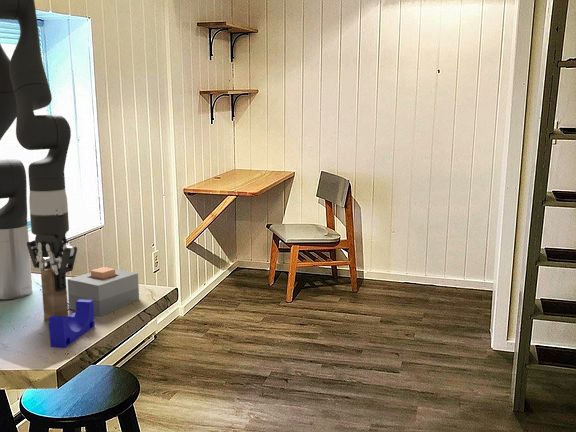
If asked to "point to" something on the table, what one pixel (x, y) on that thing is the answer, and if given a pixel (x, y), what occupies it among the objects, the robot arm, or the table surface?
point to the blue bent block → (71, 324)
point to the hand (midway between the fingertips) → (54, 288)
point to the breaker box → (104, 291)
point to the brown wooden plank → (52, 296)
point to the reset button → (103, 273)
